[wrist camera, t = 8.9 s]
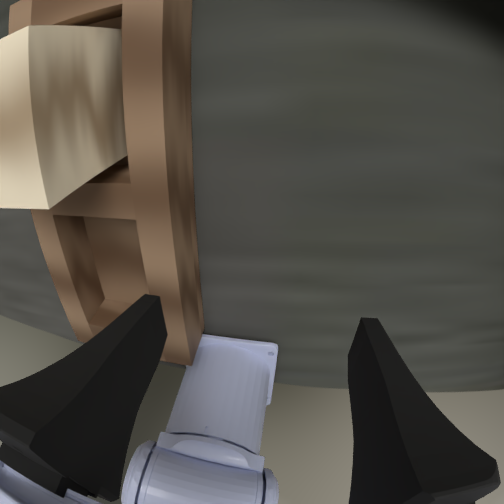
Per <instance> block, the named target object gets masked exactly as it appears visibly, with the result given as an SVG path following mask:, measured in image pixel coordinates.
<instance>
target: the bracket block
mask: <svg viewBox="0 0 504 504" xmlns="http://www.w3.org/2000/svg"><path fill="white" fill-rule="evenodd" d="M127 155H128V154H127V144H126V132H125V119H124V104H123V83H122V29H113V28H102V27H88V26H65V25H35V26H27V27H25V28H22V29H20V30H18V31H16V32H14V33H12V34H10V35H8V36H6V37H4V38H2V39H0V208H24V209H50V208H52V207H53V206H54V205H56V204H57V203H58V202H60V201H61V200H62V199H64V198H65V197H66V196H68V195H69V194H70V193H72V192H73V191H75V190H76V189H77V188H79V187H80V186H82V185H83V184H84V183H86V182H87V181H89V180H90V179H92V178H93V177H95V176H96V175H98V174H99V173H101V172H102V171H104V170H105V169H107V168H108V167H110V166H111V165H113V164H114V163H116V162H117V161H119V160H121V159H122V158H124V157H125V156H127Z"/></svg>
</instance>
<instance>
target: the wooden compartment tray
mask: <svg viewBox="0 0 504 504" xmlns="http://www.w3.org/2000/svg"><path fill="white" fill-rule="evenodd" d="M191 23H192V0H20V1H18V2H17V3H15V4H13V5H11V6H10V14H9V35H10V34H12V33H14V32H16V31H18V30H20V29H22V28H25V27H27V26H35V25H65V26H88V27H102V28H113V29H122V83H123V104H124V119H125V132H126V144H127V154H128V155H127V156H125V157H124V158H122V159H121V160H119V161H117V162H116V163H114V164H113V165H111V166H110V167H108V168H107V169H105V170H104V171H102V172H101V173H99V174H98V175H96V176H95V177H93V178H92V179H90V180H89V181H87V182H86V183H84V184H83V185H82V186H80V187H79V188H77V189H76V190H75V191H73V192H72V193H70V194H69V195H68V196H66V197H65V198H64V199H62V200H61V201H60V202H58V203H57V204H56V205H54V206H53V207H52V208H50V209H30V210H31V214H32V217H33V221H34V225H35V228H36V231H37V235H38V238H39V241H40V245H41V248H42V251H43V254H44V257H45V260H46V263H47V266H48V268H49V271H50V274H51V277H52V279H53V282H54V285H55V287H56V290H57V293H58V295H59V298H60V300H61V303H62V305H63V307H64V310H65V312H66V315H67V317H68V319H69V321H70V324H71V326H72V328H73V330H74V333H75V335H76V337H77V339H78V341H81V342H85V343H86V342H88V341H89V340H90V339H91V338H93V337H94V336H95V335H97V334H98V333H99V332H100V331H102V330H103V329H104V328H105V327H107V326H108V325H109V324H110V323H111V322H113V321H114V320H115V319H116V318H117V317H118V316H120V315H121V314H122V313H123V312H124V311H125V310H126V309H128V308H129V307H130V306H131V305H132V304H133V303H135V302H136V301H137V300H138V299H139V298H140V297H142V296H143V295H144V294H149V295H156V296H160V300H161V305H162V310H163V315H164V319H165V324H166V329H167V333H168V335H167V339H166V342H165V346H164V349H163V352H162V356H161V359H160V360H161V361H166V362H171V363H176V364H182V365H187V366H192V364H193V361H194V358H195V355H196V352H197V349H198V346H199V343H200V340H201V337H202V334H203V331H204V328H205V327H204V317H203V307H202V296H201V285H200V273H199V260H198V247H197V233H196V217H195V199H194V179H193V155H192V121H191Z"/></svg>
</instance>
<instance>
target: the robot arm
mask: <svg viewBox="0 0 504 504" xmlns="http://www.w3.org/2000/svg"><path fill="white" fill-rule="evenodd" d="M167 335H168V333H167V329H166V324H165V319H164V315H163V310H162V305H161V300H160V296H156V295H149V294H144V295H143V296H142V297H140V298H139V299H138V300H137V301H136V302H135V303H133V304H132V305H131V306H130V307H129V308H128V309H126V310H125V311H124V312H123V313H122V314H121V315H120V316H118V317H117V318H116V319H115V320H114V321H113V322H111V323H110V324H109V325H108V326H107V327H105V328H104V329H103V330H102V331H100V332H99V333H98V334H97V335H95V336H94V337H93V338H91V339H90V340H89V341H88V342H86V343H85V344H84V345H82V346H81V347H79V348H78V349H76V350H75V351H74V352H72V353H70V354H69V355H67V356H66V357H65V358H63V359H61V360H59V361H57V362H56V363H54V364H52V365H50V366H48V367H47V368H45V369H43V370H41V371H39V372H37V373H35V374H33V375H31V376H29V377H26V378H24V379H21V380H19V381H17V382H14V383H11V384H8V385H5V386H2V387H0V440H1V441H2V442H3V443H2V445H1V447H0V504H102V503H100V502H97V501H95V500H92V499H90V498H88V497H87V495H90V496H92V497H94V498H96V497H97V496H98V497H100V498H103V499H105V500H108V501H110V502H112V501H115V500H117V499H119V494H120V487H121V480H122V473H123V468H124V463H125V458H126V453H127V449H128V445H129V441H130V437H131V433H132V429H133V426H134V422H135V419H136V415H137V412H138V410H139V407H140V404H141V402H142V400H143V397H144V395H145V393H146V390H147V388H148V386H149V384H150V382H151V379H152V377H153V374H154V372H155V370H156V368H157V365H158V363H159V361H160V359H161V356H162V352H163V349H164V346H165V342H166V339H167ZM277 354H278V345H277V344H275V343H270V342H261V341H252V340H244V339H236V338H228V337H220V336H213V335H206V334H202V337H201V340H200V343H199V346H198V349H197V352H196V355H195V358H194V361H193V364H192V366H187V365H186V371H185V374H184V377H183V380H182V383H181V386H180V389H179V391H178V394H177V397H176V400H175V403H174V406H173V409H172V413H171V416H170V418H169V421H168V425H167V427H166V431H165V432H160V435H159V438H158V441H157V442H155V441H152V440H148V441H147V442H146V443H143V444H141V445H140V446H138V448H137V449H136V451H135V453H134V455H133V457H132V459H131V461H130V464H129V467H128V470H127V473H126V476H125V480H124V484H123V489H122V497H121V501H122V504H278V497H279V487H278V482H277V479H276V478H275V476H274V475H273V472H272V471H271V470H270V469H266V468H263V467H264V459H265V457H264V456H259V452H260V446H261V439H262V431H263V424H264V417H265V409H266V405H269V404H270V403H271V397H272V390H273V383H274V376H275V369H276V361H277ZM348 384H349V394H350V403H351V412H352V423H353V437H354V448H353V468H352V480H351V491H350V498H349V504H475V501H477V500H478V499H480V498H482V497H484V496H485V495H487V494H489V493H491V492H492V491H494V490H495V489H496V488H498V487H499V485H500V483H501V482H500V477H499V471H498V466H497V462H496V460H495V459H494V458H492V457H491V456H489V455H488V454H487V453H486V452H484V451H483V450H481V449H480V448H479V447H478V446H476V445H475V444H474V443H473V442H472V441H471V440H469V439H468V438H467V437H466V436H465V435H464V434H463V433H461V432H460V431H459V430H458V429H457V428H456V427H455V426H454V425H453V424H452V423H451V422H450V421H449V420H448V419H447V418H446V416H445V415H444V414H442V412H441V411H440V410H439V409H438V408H437V407H436V405H435V404H434V403H433V402H432V400H431V399H430V398H429V397H428V396H427V394H426V393H425V392H424V390H423V389H422V388H421V386H420V385H419V383H418V382H417V381H416V379H415V378H414V376H413V375H412V373H411V372H410V370H409V369H408V367H407V366H406V364H405V363H404V361H403V360H402V358H401V356H400V355H399V353H398V352H397V350H396V348H395V347H394V345H393V343H392V342H391V340H390V338H389V337H388V335H387V333H386V332H385V330H384V328H383V326H382V325H381V323H380V321H379V320H378V319H377V318H362V317H361V320H360V323H359V326H358V328H357V331H356V334H355V337H354V340H353V343H352V346H351V348H350V351H349V354H348Z"/></svg>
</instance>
